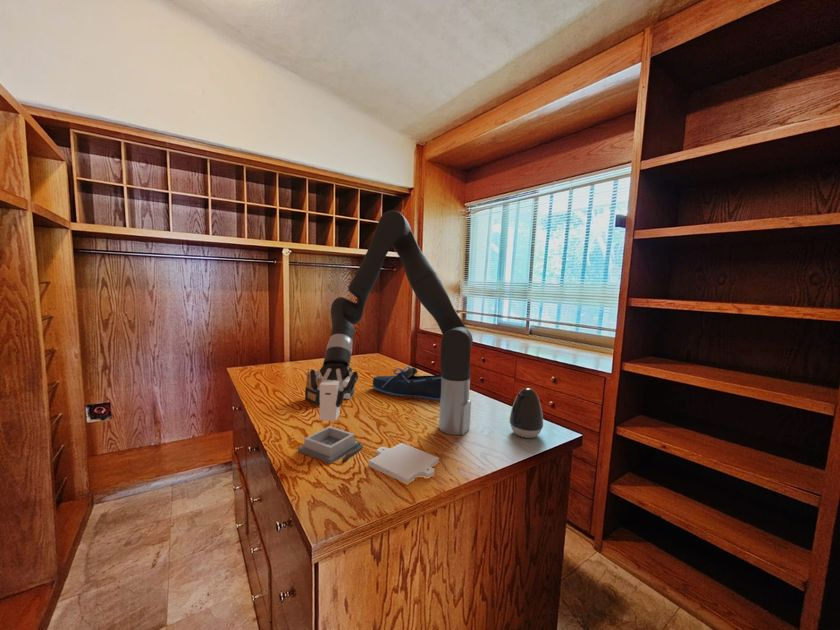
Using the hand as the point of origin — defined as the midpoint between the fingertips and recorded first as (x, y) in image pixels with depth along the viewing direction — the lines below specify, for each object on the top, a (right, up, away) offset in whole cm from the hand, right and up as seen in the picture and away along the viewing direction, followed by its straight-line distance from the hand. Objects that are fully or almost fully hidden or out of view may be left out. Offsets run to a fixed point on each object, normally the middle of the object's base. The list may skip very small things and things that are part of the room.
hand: (328, 405), depth 93 cm
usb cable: (+7, -13, 0) cm, 15 cm away
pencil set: (-15, -9, +38) cm, 42 cm away
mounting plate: (+21, -15, -4) cm, 26 cm away
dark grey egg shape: (+58, -14, +16) cm, 62 cm away
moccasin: (+21, -9, +52) cm, 57 cm away
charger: (0, -4, +2) cm, 5 cm away
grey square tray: (0, -13, +3) cm, 13 cm away
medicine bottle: (-6, -9, +46) cm, 47 cm away
